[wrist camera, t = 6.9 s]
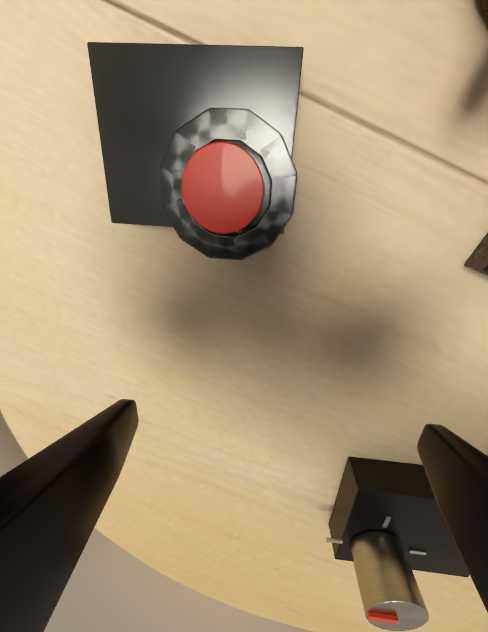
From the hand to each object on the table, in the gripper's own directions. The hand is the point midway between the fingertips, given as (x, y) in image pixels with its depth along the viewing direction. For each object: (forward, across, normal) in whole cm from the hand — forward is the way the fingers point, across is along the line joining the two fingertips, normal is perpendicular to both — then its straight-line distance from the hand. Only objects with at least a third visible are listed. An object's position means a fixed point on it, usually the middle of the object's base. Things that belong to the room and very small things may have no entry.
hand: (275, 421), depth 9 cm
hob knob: (+8, -11, +22) cm, 26 cm away
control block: (+12, +4, -8) cm, 15 cm away
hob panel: (+11, -14, +20) cm, 27 cm away
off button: (+8, +3, -7) cm, 11 cm away
